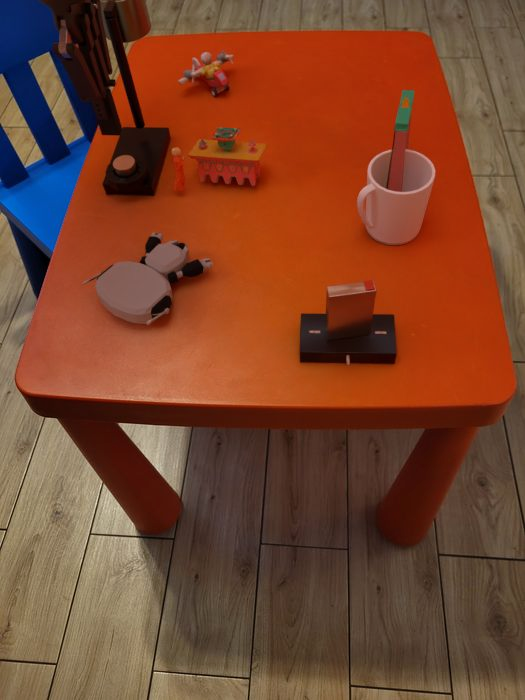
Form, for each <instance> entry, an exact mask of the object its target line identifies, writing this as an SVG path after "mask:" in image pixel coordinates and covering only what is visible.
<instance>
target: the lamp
mask: <svg viewBox="0 0 525 700" xmlns="http://www.w3.org/2000/svg"><path fill="white" fill-rule="evenodd" d="M100 3H101V14H102V19H103V24H104V30H105V35H106V40H108V41H110V43H111V46H112V50H113V53H114V57H115V60H116V64H117V67H118V70H119V74H120V78H121V81H122V84H123V88H124V91H125V95H126V98H127V101H128V106H129V109H130V112H131V115H132V119H133V123H134V127H136V128H139V129H140V128H143V127H146V123H145V119H144V115H143V111H142V108H141V104H140V100H139V97H138V93H137V89H136V86H135V83H134V78H133V74H132V71H131V68H130V64H129V60H128V57H127V52H126V49H125V45H124V44H126V43H127V44H128V43H133V42H137V41H138V40H141V39H143V38H145V37H147V35H149V33H150V32H151V30H152V22H151V17H150V14H149V10H148V4H147V0H100Z"/></svg>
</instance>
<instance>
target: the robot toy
mask: <svg viewBox="0 0 525 700" xmlns="http://www.w3.org/2000/svg"><path fill="white" fill-rule="evenodd" d="M163 238H164V234H163V233H162V232H158V231H153V232H152V233H151V234H150V236H148V239H147V240H146V242H145V245H144V246H145V247H144V250H145V255H143V256H141V258H140V260H139V262H137V261H131V260H123V261H117V262H115V263H114V264H111V265H109V267H107V268H105V269H103V270H102V271H100V273H98V274H96V275H95V276H92V277H90V278H89V279H86V280H84V281H83V282H82V283H81V285H83V286H86V285H87V284H89V283H90V282H92V281H94V280H96V282H95V285H94V287H95V291H96V294H97V296H98V299H99V301H100V303H101V304H102V306H103V307H104V308H105V309H106V310H107V311H109V313H110V314H111V315H113V316H115V317H117V318H118V319H119V318H120V319H122V320H124V321H127V322H129V323H133V324H146V325H147V326H149V325H151V324H152V323H153V322H155V321H157V320H159V319H160V318H162V317H163V316H164V315H168V314H169V313H170V310H171V308H172V306H173V299H174V296H173V295H174V294H173V292H172V287H171V285H173V284H176V283H178V282H179V279H180V278H182V277H185V278H191V279H194V278H196V277H199V276H201V275H204V270H210V269H212V267H213V266H214V265H213V264H214V263H213V262H212V260H211V258H208V257H205V258H203V259H201V260H199V258H196V259H194V260H192V261H191V259H190V253H189V247H188V245H187V244H186V243H185V242H179V240H176V239H175V240H173V239H172V240H169V241H167V242H162V240H163Z"/></svg>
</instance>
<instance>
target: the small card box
mask: <svg viewBox="0 0 525 700" xmlns="http://www.w3.org/2000/svg"><path fill="white" fill-rule="evenodd" d="M325 292H326V293H325V294H326V295H325V296H326V297H325V314H326V322H325V332H326V337H327V340H334V339H341V338H349V337H356V336H364V335H370V332H371V325H372V318H373V314H374V310H375V304H376V298H377V297H376V296H377V287H376V283H375V280H374V279H369V280H364V281H358V282H351V283H342V284H334V285H327V286H326V291H325Z"/></svg>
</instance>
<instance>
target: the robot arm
mask: <svg viewBox="0 0 525 700" xmlns="http://www.w3.org/2000/svg"><path fill="white" fill-rule="evenodd" d="M38 2H40V3H41V4H43V5H45V6H46V7H48V8H49V9H50V10H51V12H52V17H53V23H54V27H55V29H56V30H57V32H58V33H59V35H58V36H59V37H58V42H53V43H52V45H51V47H52V48H51V50H52V53H53V54H54V55H55V57H57V58H58V59H59V61H60V62H61V64H62V66H63V68H64V70H65V72H66V74H67V76H68V78H69V80H70V82H71V83H72V86H73V88H74V90H75V91H76V94H77V95H78V98H79V99H80V102H82V103H91V106H92V110H93V113H94V115H95V118H96V121H97V124H98V127H99V130H100V133H101V136H117V137H119V136H120V134H121V131H122V128H123V126H122V122H121V120H120V117H119V114H118V110H117V109H118V108H117V105H116V103H115V100H114V97H113V93H112V90H111V88H115V87H116V85H117V82H116V79H114V78H110V75H113V67H112V61H111V56H110V50H109V46H108V45H109V44H108V41H107V40H108V39H107V38H106V35H105V30H104V24H103V19H102V14H101V3H100V0H38Z"/></svg>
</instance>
